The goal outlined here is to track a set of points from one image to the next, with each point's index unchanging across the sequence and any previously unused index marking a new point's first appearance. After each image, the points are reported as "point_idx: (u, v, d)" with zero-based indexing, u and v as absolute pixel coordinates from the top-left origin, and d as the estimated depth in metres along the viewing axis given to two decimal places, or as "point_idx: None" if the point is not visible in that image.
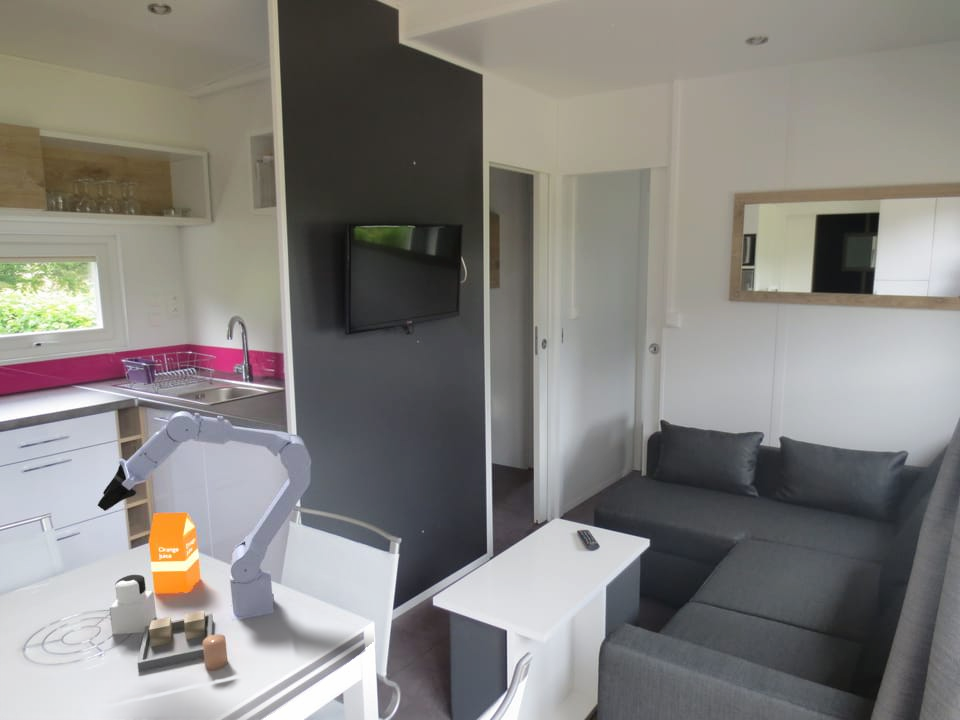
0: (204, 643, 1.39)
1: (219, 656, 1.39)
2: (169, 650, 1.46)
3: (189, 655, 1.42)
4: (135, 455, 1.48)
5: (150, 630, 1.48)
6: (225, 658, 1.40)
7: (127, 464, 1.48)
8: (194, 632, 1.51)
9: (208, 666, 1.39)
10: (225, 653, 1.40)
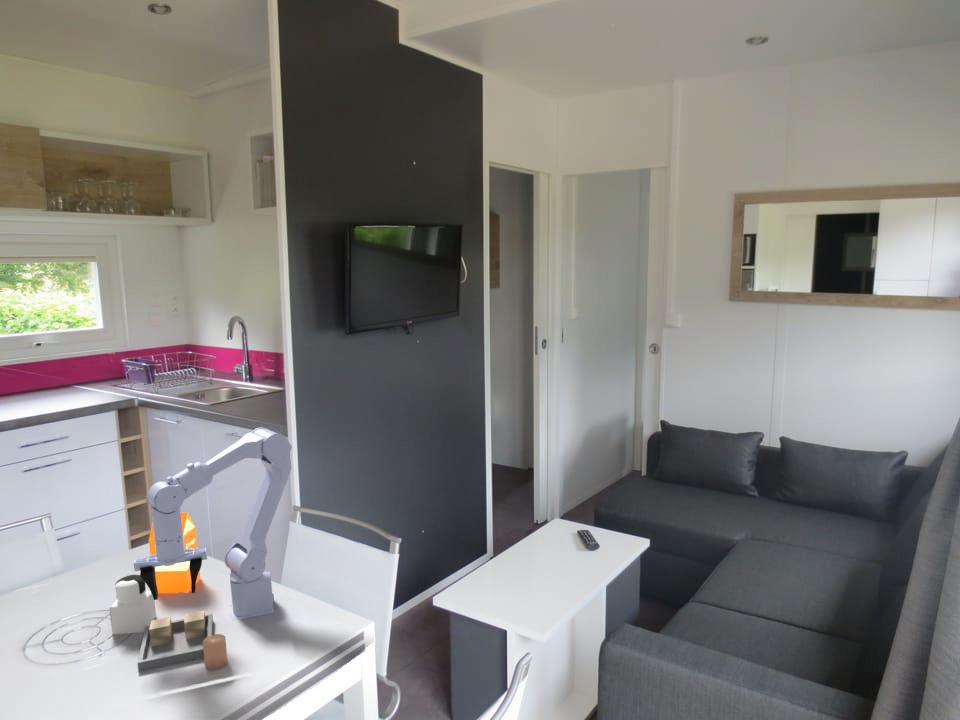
0: (204, 643, 1.39)
1: (219, 656, 1.39)
2: (169, 650, 1.46)
3: (189, 655, 1.42)
4: (174, 547, 1.47)
5: (150, 630, 1.48)
6: (225, 658, 1.40)
7: (177, 557, 1.47)
8: (194, 632, 1.51)
9: (208, 666, 1.39)
10: (225, 653, 1.40)
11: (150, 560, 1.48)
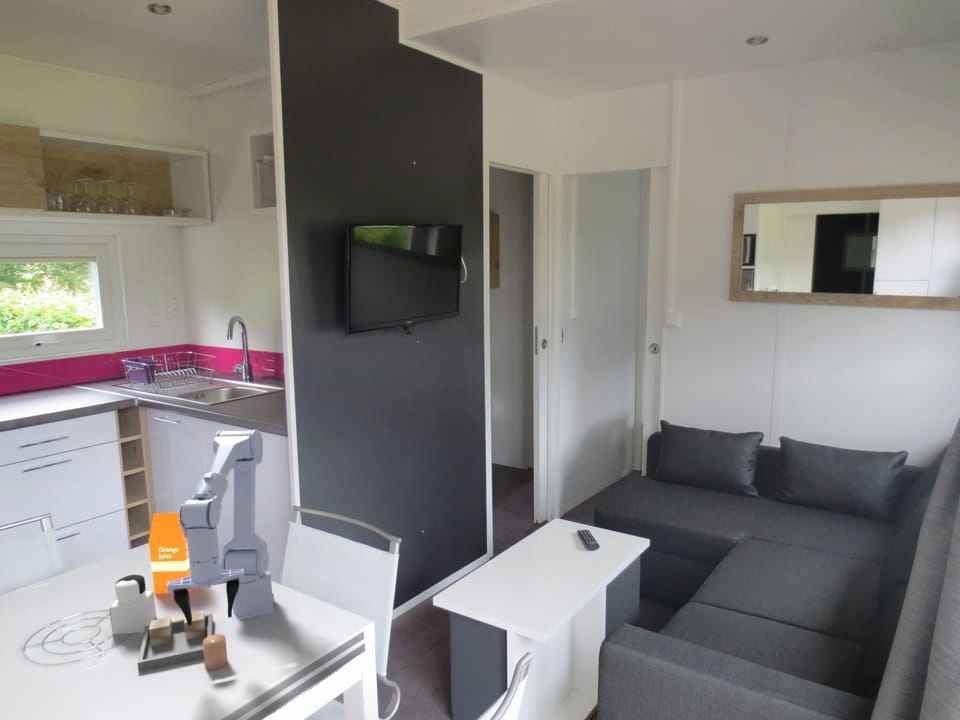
0: (204, 643, 1.39)
1: (219, 656, 1.39)
2: (169, 650, 1.46)
3: (189, 655, 1.42)
4: (210, 568, 1.36)
5: (150, 630, 1.48)
6: (225, 658, 1.40)
7: (213, 579, 1.37)
8: (194, 632, 1.51)
9: (208, 666, 1.39)
10: (225, 653, 1.40)
11: (184, 582, 1.37)
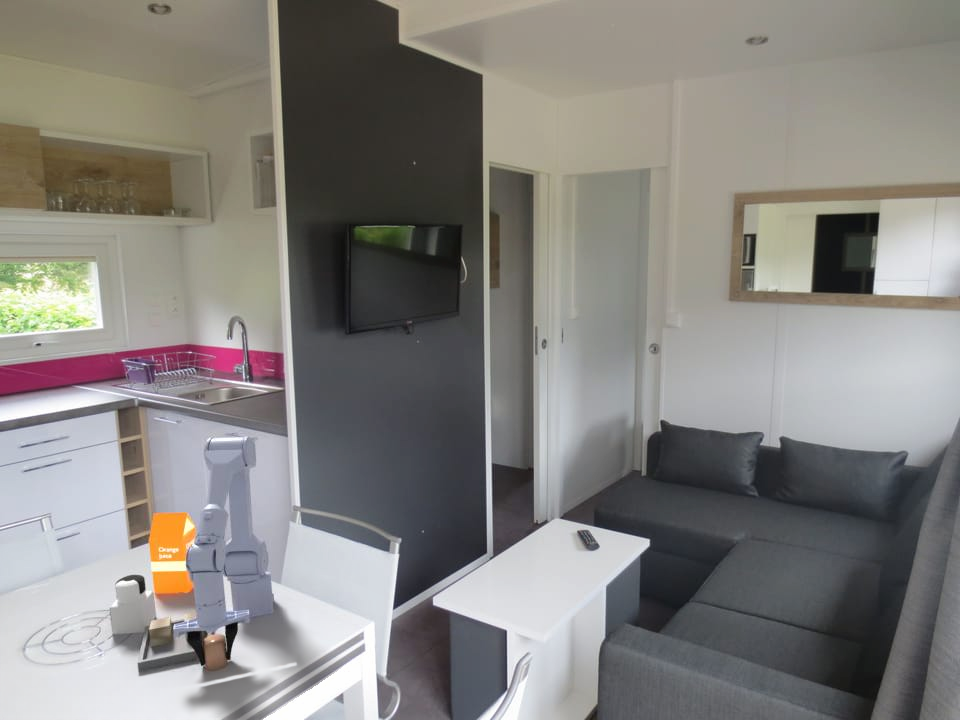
0: (204, 643, 1.39)
1: (219, 656, 1.39)
2: (169, 650, 1.46)
3: (189, 655, 1.42)
4: (216, 611, 1.37)
5: (150, 630, 1.48)
6: (225, 658, 1.40)
7: (219, 622, 1.38)
8: None
9: (208, 666, 1.39)
10: (225, 653, 1.40)
11: (190, 625, 1.38)
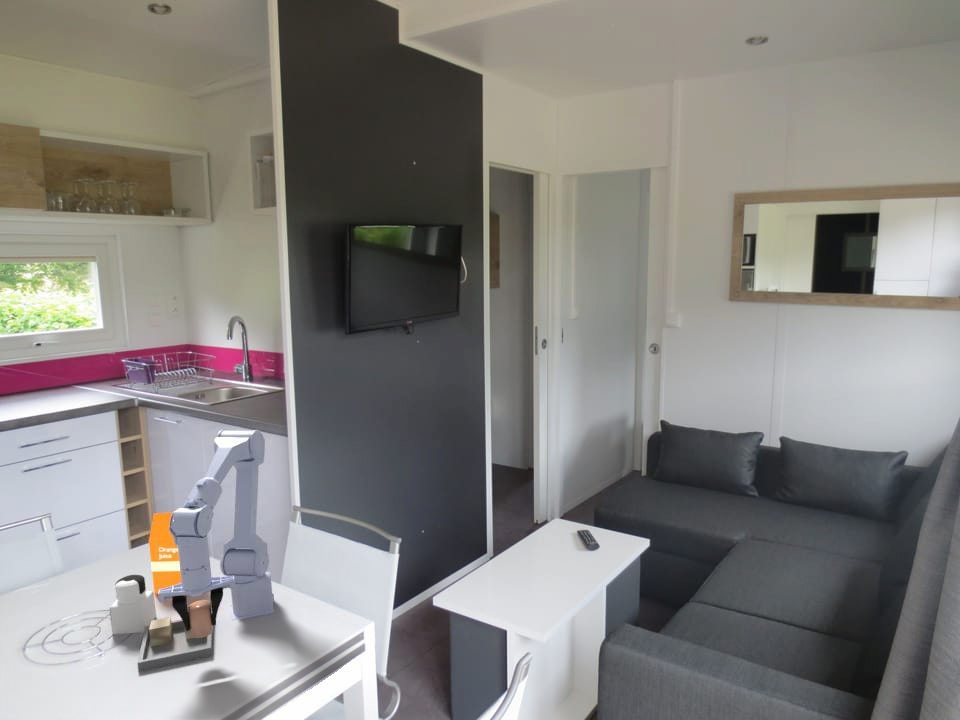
0: (189, 608, 1.39)
1: (205, 621, 1.40)
2: (169, 650, 1.46)
3: (189, 655, 1.42)
4: (201, 576, 1.38)
5: (150, 630, 1.48)
6: (210, 623, 1.41)
7: (204, 586, 1.38)
8: None
9: (193, 631, 1.39)
10: (210, 618, 1.41)
11: (175, 590, 1.38)
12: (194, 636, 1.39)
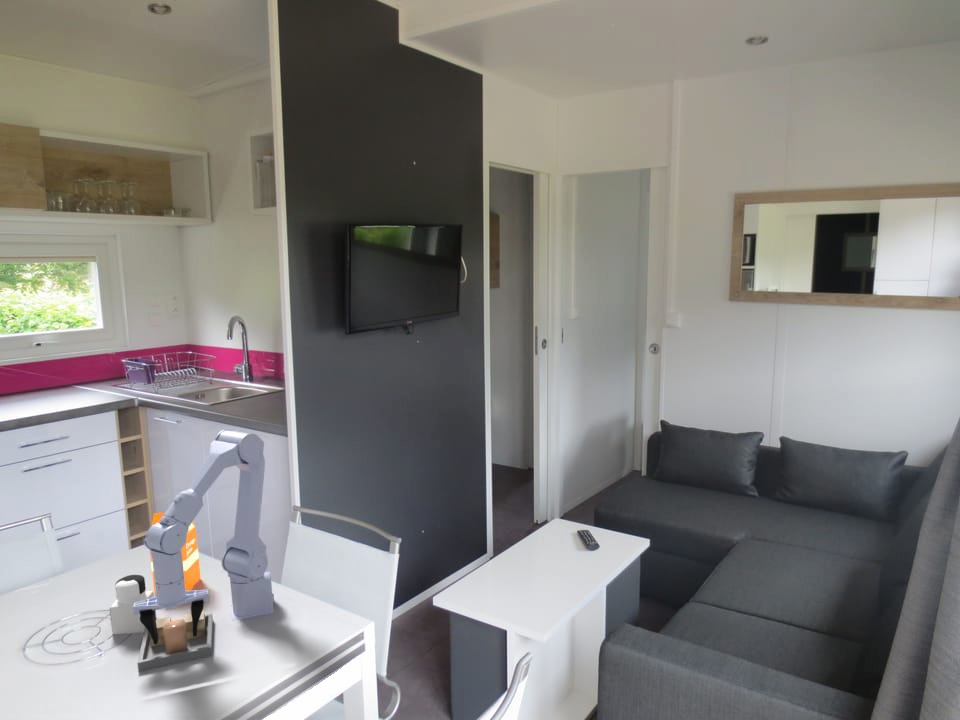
0: (164, 628, 1.44)
1: (180, 640, 1.44)
2: None
3: (189, 655, 1.42)
4: (175, 590, 1.42)
5: None
6: (185, 642, 1.45)
7: (178, 600, 1.42)
8: None
9: (168, 651, 1.44)
10: (185, 637, 1.46)
11: (150, 603, 1.43)
12: None
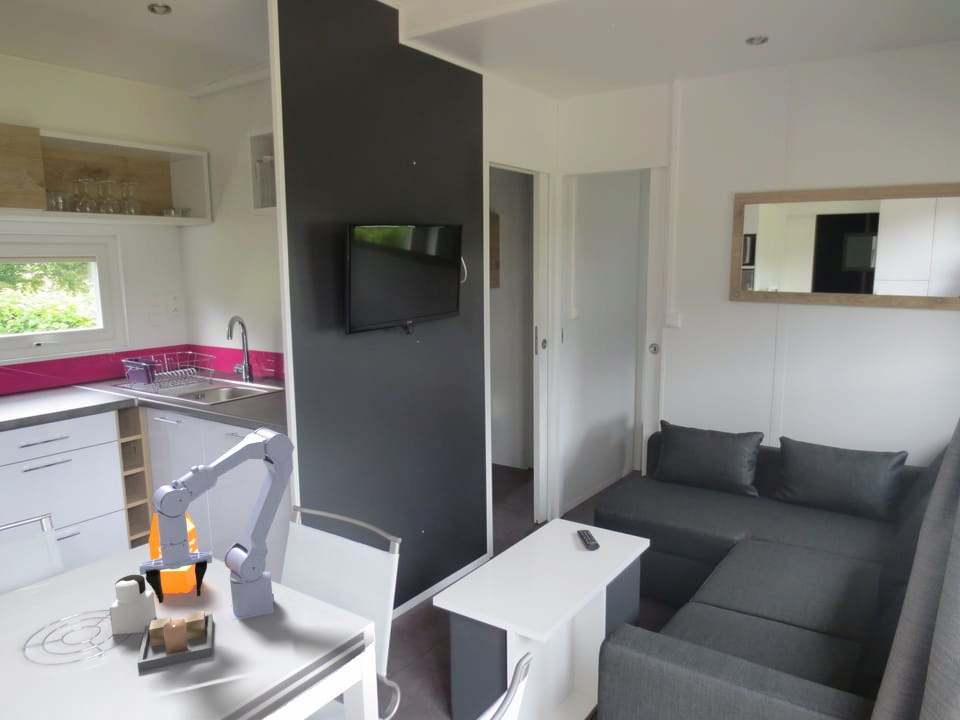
0: (165, 628, 1.44)
1: (180, 640, 1.44)
2: None
3: (189, 655, 1.42)
4: (180, 550, 1.47)
5: (150, 630, 1.48)
6: (185, 642, 1.46)
7: (182, 560, 1.48)
8: (194, 632, 1.51)
9: (168, 650, 1.44)
10: (185, 637, 1.46)
11: (156, 563, 1.48)
12: None
